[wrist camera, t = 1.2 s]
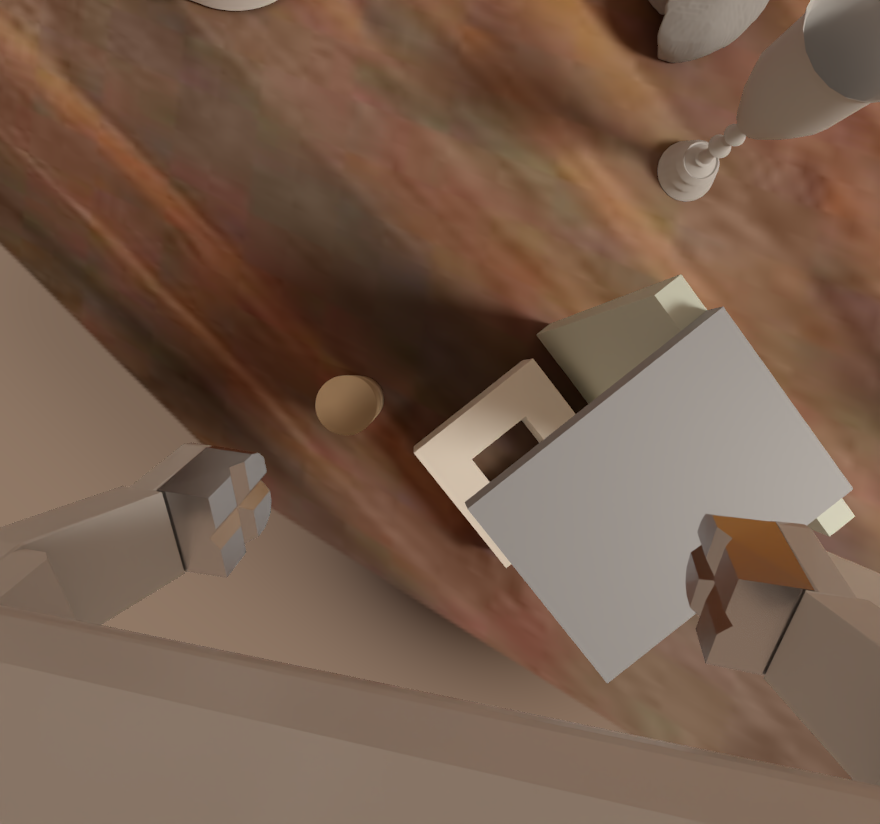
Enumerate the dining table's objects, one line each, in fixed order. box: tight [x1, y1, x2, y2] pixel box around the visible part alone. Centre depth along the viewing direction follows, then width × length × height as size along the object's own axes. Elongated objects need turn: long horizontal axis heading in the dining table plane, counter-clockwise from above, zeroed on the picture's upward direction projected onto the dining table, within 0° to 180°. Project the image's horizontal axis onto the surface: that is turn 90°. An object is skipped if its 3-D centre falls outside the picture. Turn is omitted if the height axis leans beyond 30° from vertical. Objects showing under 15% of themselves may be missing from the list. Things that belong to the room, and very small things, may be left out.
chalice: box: [657, 0, 880, 201], centre depth 36 cm, size 7×7×18 cm
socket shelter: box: [414, 274, 855, 683], centre depth 34 cm, size 14×16×23 cm
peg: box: [315, 375, 384, 436], centre depth 39 cm, size 4×4×10 cm
